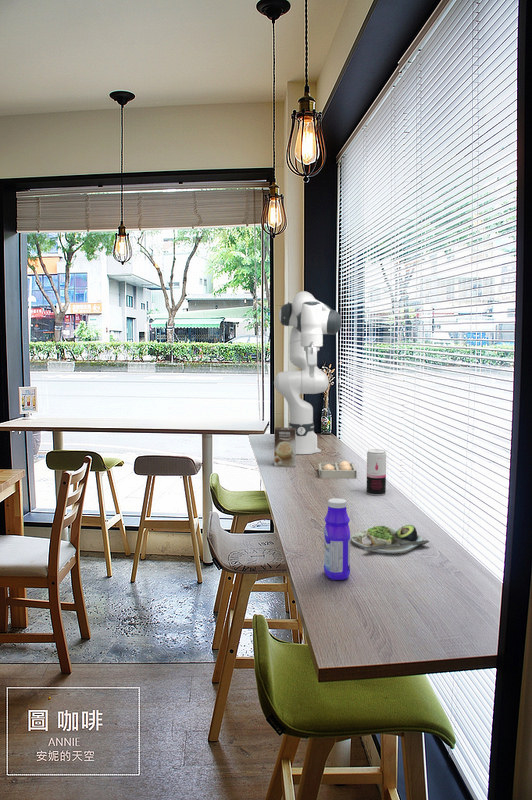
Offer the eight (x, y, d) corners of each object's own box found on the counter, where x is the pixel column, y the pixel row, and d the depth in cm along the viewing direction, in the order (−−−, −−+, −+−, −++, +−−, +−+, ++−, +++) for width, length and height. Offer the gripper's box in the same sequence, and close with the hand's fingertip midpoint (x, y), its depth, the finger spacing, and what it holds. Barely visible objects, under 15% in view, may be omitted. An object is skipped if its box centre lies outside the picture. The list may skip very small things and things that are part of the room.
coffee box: (273, 466, 242) (273, 429, 240) (274, 463, 248) (274, 427, 246) (295, 467, 241) (295, 429, 239) (296, 464, 247) (296, 427, 245)
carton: (318, 471, 232) (318, 462, 232) (353, 471, 232) (353, 463, 231) (319, 479, 219) (319, 470, 218) (356, 480, 218) (356, 470, 217)
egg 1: (334, 475, 224) (334, 463, 224) (334, 476, 220) (334, 464, 220) (322, 475, 224) (322, 463, 225) (322, 476, 220) (322, 464, 220)
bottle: (321, 569, 133) (321, 496, 131) (345, 568, 133) (346, 495, 131) (327, 582, 125) (327, 505, 124) (352, 581, 126) (353, 504, 124)
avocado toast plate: (392, 565, 136) (392, 546, 135) (334, 546, 149) (335, 529, 148) (435, 545, 149) (436, 528, 148) (379, 529, 162) (379, 513, 161)
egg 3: (339, 474, 224) (339, 463, 224) (351, 474, 224) (351, 463, 223) (340, 477, 219) (340, 465, 219) (352, 477, 219) (352, 465, 219)
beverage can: (387, 492, 200) (388, 450, 199) (383, 496, 194) (383, 453, 193) (369, 490, 203) (369, 448, 201) (364, 494, 197) (364, 451, 195)
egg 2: (338, 470, 231) (338, 459, 230) (349, 471, 230) (350, 459, 230) (339, 473, 226) (339, 462, 225) (350, 473, 226) (351, 462, 225)
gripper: (320, 342, 218) (320, 378, 219) (318, 342, 238) (318, 375, 239) (303, 342, 218) (303, 378, 219) (303, 342, 238) (303, 375, 240)
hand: (311, 376), depth 230 cm, fingers open, 8 cm apart
